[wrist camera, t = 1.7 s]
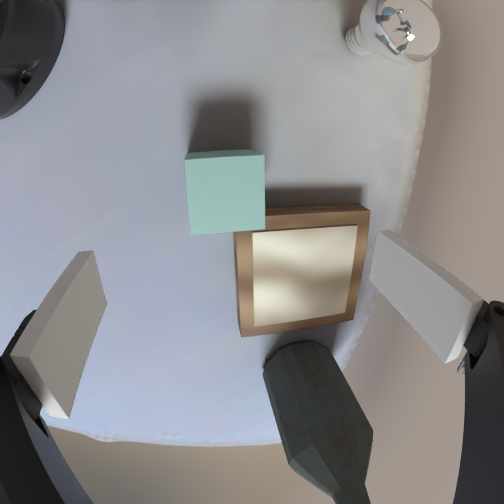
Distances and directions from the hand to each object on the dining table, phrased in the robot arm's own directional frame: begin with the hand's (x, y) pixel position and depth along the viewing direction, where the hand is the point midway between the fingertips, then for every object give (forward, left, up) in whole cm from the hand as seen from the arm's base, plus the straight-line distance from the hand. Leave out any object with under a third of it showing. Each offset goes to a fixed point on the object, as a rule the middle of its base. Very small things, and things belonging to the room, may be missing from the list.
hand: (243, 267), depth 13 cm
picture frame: (+9, +8, -17) cm, 21 cm away
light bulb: (-16, +14, -17) cm, 27 cm away
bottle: (+25, +9, -17) cm, 32 cm away
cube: (-1, 0, -17) cm, 17 cm away
